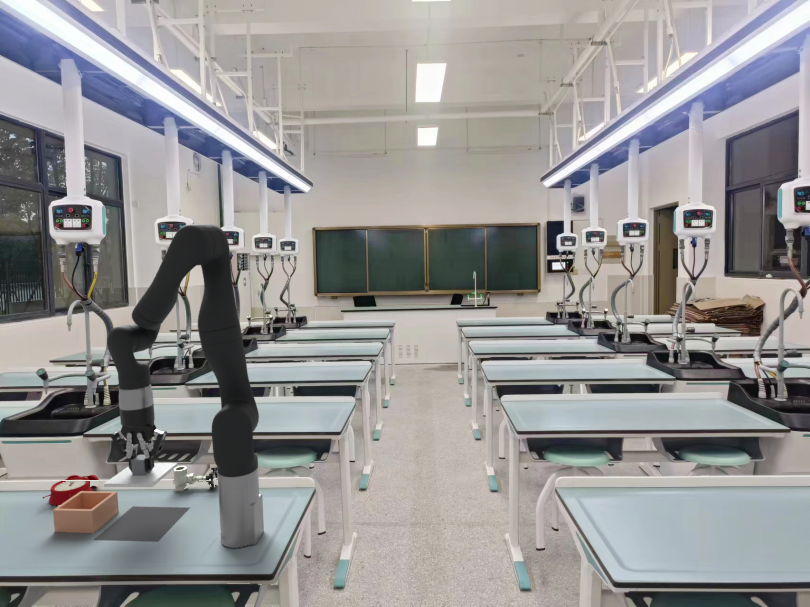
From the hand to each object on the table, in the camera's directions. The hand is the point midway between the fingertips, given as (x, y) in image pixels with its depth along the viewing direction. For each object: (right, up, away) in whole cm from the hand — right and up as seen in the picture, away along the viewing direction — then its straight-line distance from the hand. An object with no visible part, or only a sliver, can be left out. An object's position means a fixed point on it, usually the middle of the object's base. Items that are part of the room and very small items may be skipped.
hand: (142, 470), depth 129 cm
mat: (0, -14, +1) cm, 14 cm away
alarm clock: (-29, -13, +18) cm, 36 cm away
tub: (-15, -14, +2) cm, 21 cm away
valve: (+5, -12, +20) cm, 24 cm away
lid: (0, -1, 0) cm, 1 cm away
